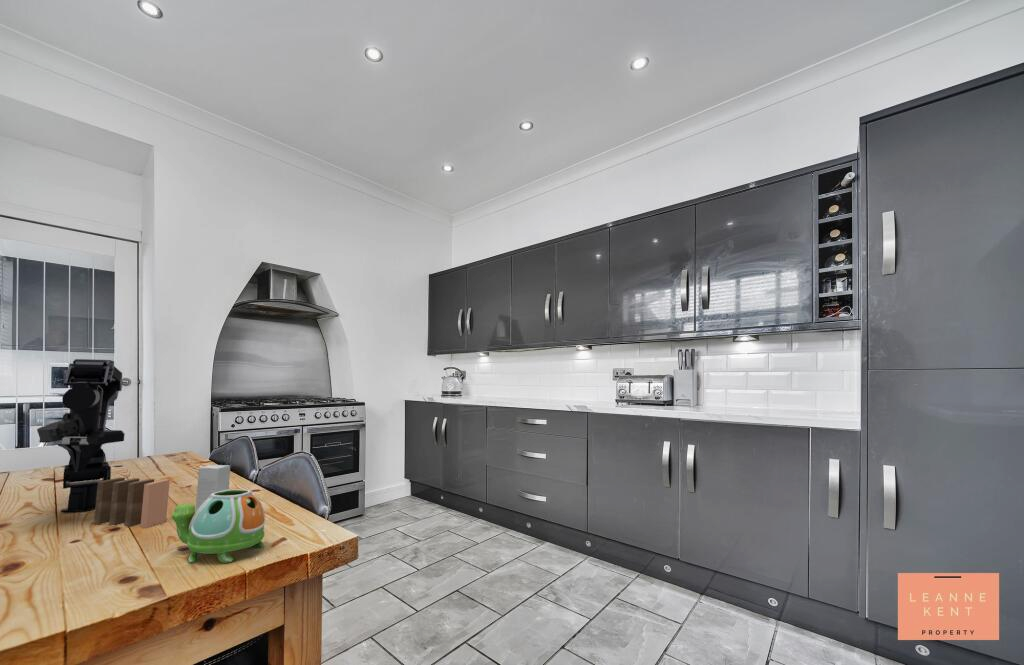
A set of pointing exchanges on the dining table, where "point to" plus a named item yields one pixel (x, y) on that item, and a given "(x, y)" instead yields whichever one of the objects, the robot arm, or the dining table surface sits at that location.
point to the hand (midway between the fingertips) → (78, 471)
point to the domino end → (154, 503)
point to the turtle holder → (221, 524)
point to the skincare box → (211, 481)
